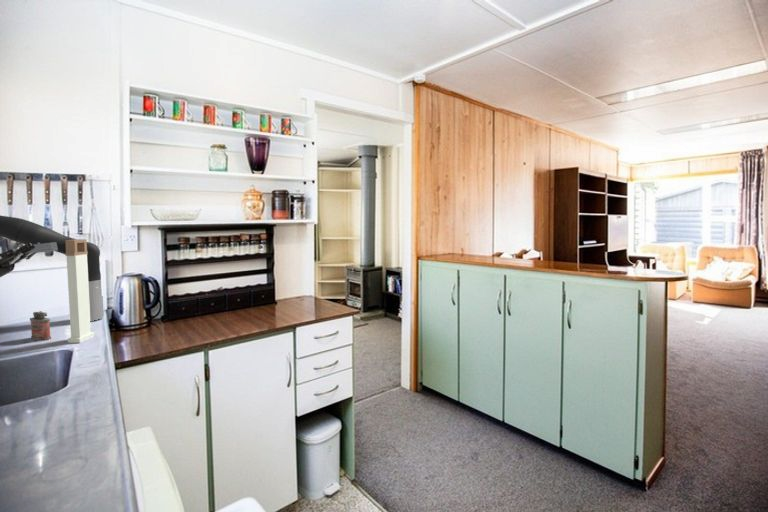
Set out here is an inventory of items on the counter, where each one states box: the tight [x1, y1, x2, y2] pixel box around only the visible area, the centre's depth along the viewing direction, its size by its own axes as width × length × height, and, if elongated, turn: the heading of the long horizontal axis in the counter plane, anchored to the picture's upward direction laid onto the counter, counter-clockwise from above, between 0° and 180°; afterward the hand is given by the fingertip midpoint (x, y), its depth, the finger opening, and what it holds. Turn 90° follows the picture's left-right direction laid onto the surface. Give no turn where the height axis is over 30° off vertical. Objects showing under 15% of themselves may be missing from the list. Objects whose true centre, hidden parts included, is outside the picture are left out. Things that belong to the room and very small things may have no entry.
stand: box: [64, 238, 95, 344], centre depth 146 cm, size 8×4×36 cm, turn 3°
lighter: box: [29, 310, 52, 342], centre depth 147 cm, size 8×3×10 cm, turn 71°
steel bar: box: [17, 242, 58, 254], centre depth 143 cm, size 3×11×3 cm, turn 93°
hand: (35, 244), depth 143 cm, fingers closed on steel bar, 3 cm apart
